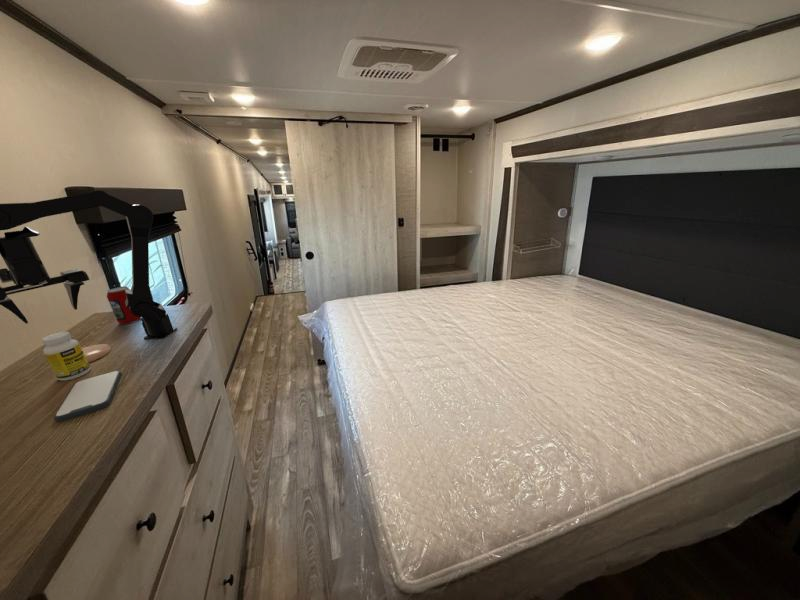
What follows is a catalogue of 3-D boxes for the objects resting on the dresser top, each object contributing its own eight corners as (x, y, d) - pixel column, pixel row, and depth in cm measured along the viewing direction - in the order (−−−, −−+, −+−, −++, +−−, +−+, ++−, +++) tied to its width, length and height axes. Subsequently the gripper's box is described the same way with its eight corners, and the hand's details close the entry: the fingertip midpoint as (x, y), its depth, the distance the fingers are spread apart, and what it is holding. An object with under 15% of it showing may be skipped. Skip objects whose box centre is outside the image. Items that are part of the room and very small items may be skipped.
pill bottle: (75, 381, 77) (54, 341, 73) (51, 382, 77) (28, 342, 73) (98, 366, 83) (79, 329, 79) (75, 367, 83) (56, 330, 79)
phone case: (77, 387, 76) (53, 426, 63) (74, 381, 75) (50, 419, 62) (123, 374, 80) (110, 408, 67) (121, 368, 80) (107, 401, 67)
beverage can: (117, 321, 111) (103, 290, 107) (140, 315, 116) (128, 284, 111) (120, 327, 107) (105, 293, 102) (144, 320, 111) (131, 288, 107)
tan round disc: (121, 345, 94) (120, 343, 93) (86, 366, 83) (85, 363, 83) (85, 347, 94) (84, 345, 94) (46, 368, 84) (45, 365, 83)
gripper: (63, 247, 88) (87, 299, 93) (-46, 264, 73) (-9, 325, 79) (76, 249, 82) (101, 304, 88) (-39, 269, 67) (0, 333, 73)
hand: (52, 315), depth 82 cm, fingers open, 9 cm apart
